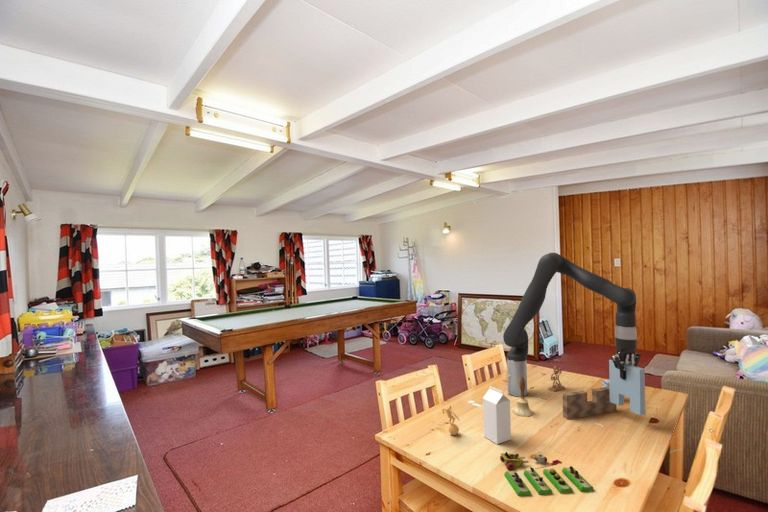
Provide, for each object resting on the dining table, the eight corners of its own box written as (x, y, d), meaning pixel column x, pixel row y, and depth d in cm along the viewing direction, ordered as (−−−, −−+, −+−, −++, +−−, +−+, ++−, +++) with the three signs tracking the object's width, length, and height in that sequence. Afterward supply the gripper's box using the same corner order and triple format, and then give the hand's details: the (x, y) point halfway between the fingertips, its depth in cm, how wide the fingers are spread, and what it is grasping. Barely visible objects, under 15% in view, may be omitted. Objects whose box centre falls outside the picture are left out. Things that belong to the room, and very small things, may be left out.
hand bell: (537, 414, 161) (536, 378, 161) (521, 418, 158) (520, 380, 158) (523, 407, 169) (522, 372, 169) (508, 410, 166) (508, 375, 166)
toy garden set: (518, 498, 107) (517, 482, 107) (494, 461, 126) (493, 448, 126) (593, 492, 109) (593, 477, 109) (558, 457, 128) (558, 444, 128)
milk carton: (497, 444, 137) (495, 393, 136) (483, 436, 143) (482, 387, 143) (511, 439, 140) (509, 389, 140) (497, 432, 146) (496, 384, 146)
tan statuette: (554, 392, 187) (553, 368, 187) (547, 389, 190) (547, 366, 190) (565, 388, 191) (564, 365, 191) (558, 386, 194) (558, 363, 194)
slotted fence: (567, 419, 156) (566, 395, 156) (563, 416, 158) (562, 393, 158) (616, 410, 163) (615, 388, 163) (611, 408, 165) (610, 386, 165)
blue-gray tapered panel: (645, 414, 146) (644, 369, 145) (640, 415, 145) (639, 369, 145) (614, 400, 159) (613, 359, 159) (609, 401, 158) (609, 359, 158)
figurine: (465, 436, 143) (464, 405, 143) (455, 441, 139) (454, 410, 139) (449, 429, 150) (448, 399, 150) (439, 433, 146) (438, 403, 146)
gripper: (620, 340, 146) (621, 383, 146) (647, 337, 150) (648, 379, 150) (604, 336, 154) (605, 377, 154) (630, 333, 157) (631, 374, 157)
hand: (626, 378), depth 152 cm, fingers closed on blue-gray tapered panel, 2 cm apart
